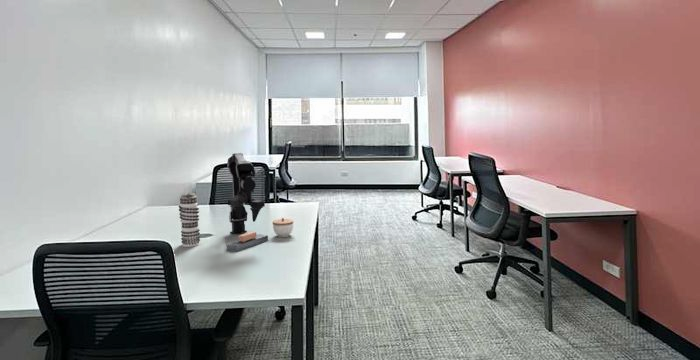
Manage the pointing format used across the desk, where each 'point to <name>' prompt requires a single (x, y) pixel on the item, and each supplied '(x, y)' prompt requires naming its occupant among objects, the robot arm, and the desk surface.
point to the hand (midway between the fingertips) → (246, 220)
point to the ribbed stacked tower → (189, 219)
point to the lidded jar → (283, 227)
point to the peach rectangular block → (247, 236)
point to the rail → (246, 243)
